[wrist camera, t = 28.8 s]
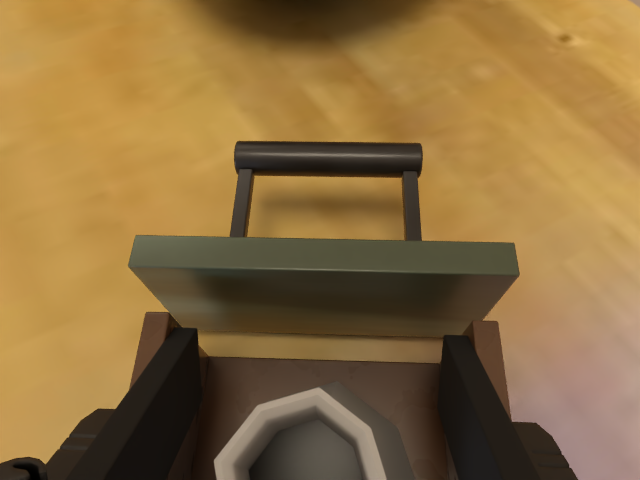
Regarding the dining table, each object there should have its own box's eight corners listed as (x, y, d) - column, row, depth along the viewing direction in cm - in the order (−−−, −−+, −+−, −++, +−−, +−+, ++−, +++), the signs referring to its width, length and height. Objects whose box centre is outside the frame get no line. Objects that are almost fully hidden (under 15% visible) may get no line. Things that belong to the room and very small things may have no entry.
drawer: (208, 191, 25) (168, 95, 19) (453, 195, 25) (491, 98, 19) (108, 777, 15) (-44, 964, 9) (517, 805, 15) (646, 1024, 9)
